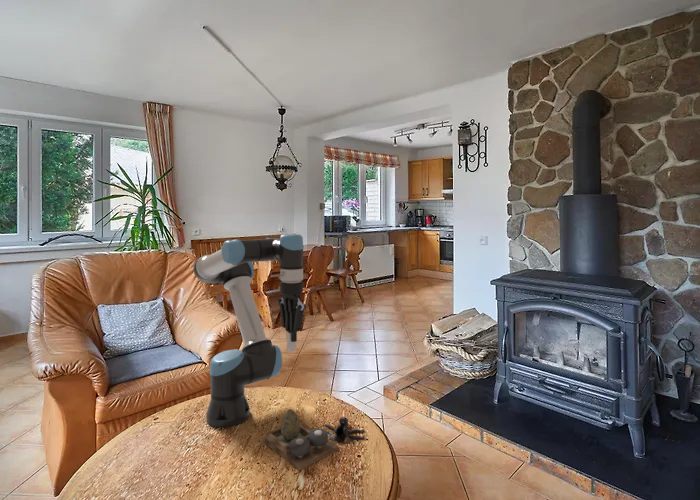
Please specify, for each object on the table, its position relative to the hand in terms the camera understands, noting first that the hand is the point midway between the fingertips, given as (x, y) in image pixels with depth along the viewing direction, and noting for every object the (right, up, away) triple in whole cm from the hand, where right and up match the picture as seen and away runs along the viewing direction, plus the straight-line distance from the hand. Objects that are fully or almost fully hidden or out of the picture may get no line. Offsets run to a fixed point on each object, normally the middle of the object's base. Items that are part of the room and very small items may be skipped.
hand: (291, 350), depth 133 cm
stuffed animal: (+17, -29, 0) cm, 34 cm away
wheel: (+10, -26, -10) cm, 29 cm away
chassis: (+4, -29, -7) cm, 30 cm away
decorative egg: (+1, -27, -6) cm, 28 cm away
